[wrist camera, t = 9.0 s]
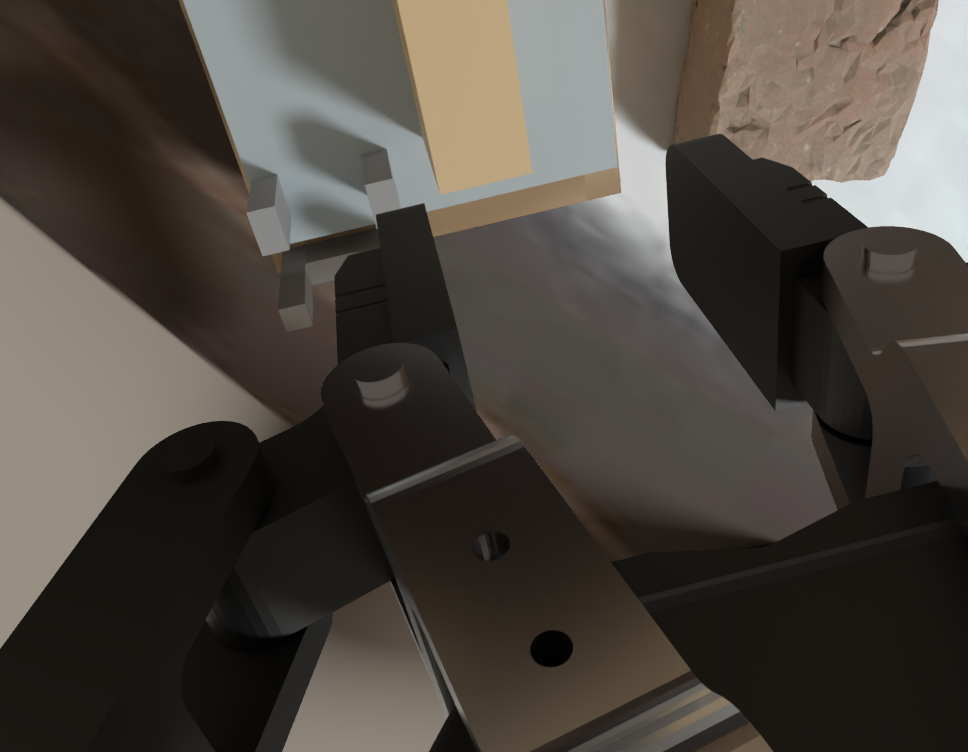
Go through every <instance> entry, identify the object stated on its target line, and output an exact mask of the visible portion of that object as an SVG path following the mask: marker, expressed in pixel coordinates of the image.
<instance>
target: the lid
mask: <svg viewBox="0 0 968 752" xmlns="http://www.w3.org/2000/svg"><path fill="white" fill-rule="evenodd" d="M183 2H184V5H185V8H186V10H187V13H188V16H189V19H190V21H191V24H192V27H193V30H194V33H195V35H196V38H197V41H198V44H199V46H200V49H201V52H202V55H203V57H204V60H205V63H206V66H207V68H208V71H209V74H210V77H211V79H212V82H213V85H214V88H215V91H216V93H217V96H218V99H219V102H220V104H221V107H222V110H223V113H224V115H225V118H226V121H227V124H228V126H229V129H230V132H231V135H232V137H233V140H234V143H235V146H236V149H237V151H238V154H239V157H240V160H241V162H242V165H243V168H244V171H245V173H246V176H247V179H248V182H249V184H250V194H249V200H248V206H247V212H246V213H247V216H248V218H249V221H250V224H251V226H252V229H253V232H254V234H255V237H256V240H257V243H258V245H259V248H260V251H261V253H262V256H266V255H271V254H275V253H279V252H283V251H288V250H290V244H292V243H296V242H301V241H305V240H309V239H313V238H318V237H322V236H326V235H330V234H335V233H339V232H343V231H347V230H352V229H356V228H360V227H364V226H369V225H373V224H376V228H377V221H376V214H380V213H384V212H388V211H393V210H397V209H401V208H405V207H410V206H414V205H418V204H422V203H424V204H425V208H426V211H427V212H428V211H432V210H437V209H441V208H445V207H449V206H454V205H458V204H462V203H466V202H471V201H475V200H479V199H483V198H488V197H492V196H496V195H500V194H505V193H509V192H513V191H517V190H522V189H526V188H530V187H534V186H539V185H543V184H547V183H551V182H556V181H560V180H564V179H568V178H573V177H577V176H581V175H585V174H590V173H594V172H598V171H602V170H607V169H611V168H615V167H618V164H617V153H616V141H615V130H614V118H613V107H612V95H611V84H610V72H609V61H608V49H607V38H606V26H605V14H604V3H603V0H183ZM377 229H378V228H377Z"/></svg>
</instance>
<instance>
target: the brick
mask: <svg viewBox="0 0 968 752" xmlns="http://www.w3.org/2000/svg"><path fill="white" fill-rule="evenodd" d="M937 8H938V0H693V7H692V12H691V20H690V35H689V47H688V50H687V54H686V58H685V61H684V67H683V75H682V79H681V84H680V90H679V97H678V103H677V122H676V127H675V143H674V144H677V143H682V142H686V141H690V140H694V139H698V138H703V137H707V136H711V135H715V134H723V135H724V136H725V137H727V138H728V139H729V140H730V141H731V142H733V143H734V144H735V145H736V146H737V147H738V148H740V149H741V150H742V151H743V152H744V153H745V154H747V155H748V156H749V157H750V158H751V159H752V160H753V159H758V158H762V157H763V158H766V159H769V160H772V161H775V162H778V163H781V164H784V165H787V166H790V167H793V168H794V169H795V170H797V171H798V172H799V173H800V174H802V175H803V176H804V177H806V178H807V179H808V180H809V181H813V180H823V179H825V180H833V181H837V182H846V181H851V180H872V179H875V178H877V177H880V176H883V175H885V173H886V171H887V169H888V167H889V165H890V161H891V160H892V158H893V157H894V156H895V152H896V149H897V145H898V142H899V139H900V137H901V134H902V132H903V130H904V127H905V125H906V122H907V119H908V116H909V113H910V110H911V108H912V105H913V102H914V100H915V96H916V92H917V89H918V86H919V83H920V79H921V76H922V73H923V69H924V65H925V61H926V58H927V52H928V44H929V36H930V30H931V28H932V26H933V23H934V20H935V17H936V15H937Z"/></svg>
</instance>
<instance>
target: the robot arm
mask: <svg viewBox="0 0 968 752" xmlns="http://www.w3.org/2000/svg"><path fill="white" fill-rule="evenodd" d="M666 181H667V200H668V218H669V237H670V249H671V255H672V260H673V264H674V267H675V270H676V273H677V276H678V278H679V280H680V282H681V283H682V285H683V286H684V288H685V289H686V290H687V292H688V293H689V295H690V296H691V297H692V299H693V300H694V301H695V303H696V304H697V305H698V307H699V308H700V309H701V311H702V312H703V314H704V315H705V316H706V318H707V319H708V320H709V322H710V323H711V324H712V326H713V327H714V328H715V330H716V331H717V333H718V334H719V335H720V337H721V338H722V339H723V341H724V342H725V343H726V345H727V346H728V347H729V349H730V350H731V352H732V353H733V354H734V356H735V357H736V358H737V360H738V361H739V362H740V364H741V365H742V366H743V368H744V369H745V371H746V372H747V373H748V375H749V376H750V377H751V379H752V380H753V381H754V383H755V384H756V385H757V387H758V388H759V390H760V391H761V392H762V394H763V395H764V396H765V398H766V399H767V400H768V402H769V403H770V404H771V406H772V407H773V409H774V410H775V411H778V410H782V409H786V408H790V407H794V406H798V405H802V404H806V403H809V405H810V406H811V407H812V408H813V419H812V434H811V437H812V442H813V445H814V447H815V450H816V453H817V456H818V458H819V461H820V464H821V466H822V469H823V472H824V475H825V477H826V480H827V483H828V485H829V488H830V491H831V494H832V496H833V499H834V502H835V504H836V507H837V510H838V511H836V512H834V513H832V514H830V515H828V516H826V517H824V518H822V519H820V520H818V521H817V522H815V523H813V524H811V525H809V526H807V527H805V528H803V529H801V530H799V531H797V532H795V533H793V534H791V535H789V536H787V537H786V538H784V539H782V540H780V541H778V542H776V543H774V544H771V545H769V546H765V547H761V548H752V549H729V550H706V551H684V552H661V553H647V554H643V555H639V556H635V557H631V558H627V559H623V560H619V561H615V562H610V560H609V559H608V558H607V556H606V555H605V554H604V552H603V551H602V549H601V548H600V547H599V545H598V544H597V543H596V541H595V540H594V539H593V537H592V536H591V535H590V533H589V532H588V531H587V529H586V528H585V527H584V525H583V524H582V523H581V521H580V520H579V518H578V517H577V516H576V514H575V513H574V512H573V510H572V509H571V508H570V506H569V505H568V504H567V502H566V501H565V500H564V498H563V497H562V496H561V494H560V493H559V492H558V490H557V489H556V487H555V486H554V485H553V483H552V482H551V481H550V479H549V478H548V477H547V475H546V474H545V473H544V471H543V470H542V469H541V467H540V466H539V465H538V463H537V462H536V461H535V459H534V458H533V456H532V455H531V454H530V452H529V451H528V450H527V448H526V447H525V446H524V445H523V443H522V442H521V441H520V440H519V439H518V438H517V437H516V436H514V435H511V434H510V435H508V436H505V437H503V438H501V439H498V440H496V439H495V437H494V436H493V434H492V433H491V432H490V430H489V429H488V427H487V426H486V424H485V423H484V422H483V420H482V419H481V417H480V416H479V414H478V413H477V411H476V407H475V402H474V398H473V394H472V390H471V385H470V381H469V377H468V373H467V368H466V364H465V360H464V356H463V351H462V347H461V343H460V339H459V334H458V330H457V326H456V322H455V318H454V315H453V311H452V307H451V303H450V299H449V296H448V292H447V288H446V284H445V280H444V276H443V273H442V269H441V265H440V261H439V257H438V254H437V250H436V246H435V242H434V238H433V234H432V231H431V227H430V223H429V219H428V215H427V211H426V208H425V204H424V203H422V204H418V205H414V206H410V207H405V208H401V209H397V210H393V211H388V212H384V213H380V214H376V221H377V228H378V235H379V242H380V248H378V249H373V250H369V251H365V252H361V253H357V254H352V255H348V256H347V258H346V259H345V261H344V262H343V264H342V265H341V267H340V268H339V270H338V271H337V273H336V274H335V276H334V278H335V297H336V300H335V304H336V314H337V316H336V329H337V354H338V365H337V366H336V367H334V368H333V369H332V370H331V371H330V373H329V374H328V375H327V376H326V378H325V380H324V381H323V384H322V387H321V399H322V403H323V406H322V407H321V408H320V409H319V410H318V411H317V412H316V413H314V414H313V415H312V416H311V417H309V418H308V419H306V420H304V421H303V422H301V423H300V424H298V425H296V426H294V427H292V428H290V429H288V430H286V431H284V432H282V433H280V434H277V435H275V436H273V437H271V438H269V439H267V440H265V441H262V442H260V443H259V442H258V440H257V437H256V435H255V434H254V433H253V431H252V430H250V429H249V428H248V427H247V426H244V425H242V424H240V423H235V422H231V421H230V422H229V421H216V422H207V423H202V424H198V425H195V426H191V427H189V428H186V429H183V430H181V431H179V432H176V433H174V434H172V435H170V436H169V437H167V438H165V439H164V440H162V441H160V442H159V443H158V444H156V445H155V446H154V447H152V448H151V449H150V450H149V451H148V452H147V453H146V454H145V455H143V456H142V458H141V459H140V460H139V461H138V462H137V464H136V465H135V466H134V467H133V469H132V470H131V472H130V473H129V474H128V476H127V477H126V478H125V480H124V481H123V482H122V484H121V485H120V487H119V488H118V489H117V491H116V492H115V494H114V495H113V496H112V498H111V499H110V500H109V502H108V503H107V504H106V506H105V507H104V508H103V510H102V511H101V513H100V514H99V515H98V517H97V518H96V519H95V521H94V522H93V523H92V525H91V526H90V528H89V529H88V530H87V532H86V533H85V534H84V536H83V537H82V538H81V540H80V541H79V542H78V544H77V545H76V546H75V548H74V549H73V551H72V552H71V553H70V555H69V556H68V557H67V559H66V560H65V562H64V563H63V564H62V566H61V567H60V568H59V570H58V571H57V572H56V574H55V575H54V576H53V578H52V579H51V581H50V582H49V583H48V585H47V586H46V587H45V589H44V590H43V591H42V593H41V594H40V596H39V597H38V598H37V600H36V601H35V603H34V604H33V605H32V606H31V608H30V609H29V611H28V612H27V613H26V615H25V616H24V617H23V619H22V620H21V621H20V623H19V624H18V626H17V627H16V628H15V630H14V631H13V632H12V634H11V635H10V636H9V638H8V639H7V641H6V642H5V643H4V645H3V646H2V647H1V649H0V752H282V750H283V748H284V745H285V743H286V740H287V737H288V735H289V733H290V730H291V728H292V725H293V722H294V720H295V717H296V715H297V712H298V710H299V707H300V705H301V702H302V700H303V697H304V694H305V692H306V689H307V687H308V684H309V682H310V679H311V677H312V674H313V672H314V669H315V667H316V664H317V661H318V659H319V656H320V654H321V651H322V649H323V646H324V644H325V641H326V639H327V636H328V634H329V631H330V627H331V624H332V616H333V615H332V612H334V611H336V610H337V609H339V608H341V607H343V606H345V605H346V604H348V603H350V602H352V601H353V600H355V599H357V598H359V597H361V596H363V595H365V594H367V593H368V592H370V591H372V590H374V589H376V588H377V587H379V586H381V585H383V584H385V583H387V582H388V581H390V584H391V586H392V588H393V591H394V593H395V595H396V598H397V600H398V602H399V605H400V607H401V609H402V612H403V614H404V616H405V619H406V621H407V624H408V626H409V628H410V631H411V633H412V636H413V638H414V640H415V642H416V645H417V647H418V649H419V652H420V654H421V657H422V659H423V661H424V664H425V666H426V669H427V671H428V673H429V676H430V678H431V681H432V683H433V685H434V688H435V690H436V693H437V695H438V698H439V700H440V703H441V706H442V708H443V711H444V713H445V716H446V718H447V719H446V721H445V723H444V725H443V727H442V729H441V731H440V732H439V734H438V736H437V738H436V740H435V741H434V743H433V745H432V747H431V749H430V751H429V752H968V263H965V261H964V260H963V259H962V258H961V256H960V255H959V254H958V252H957V251H956V250H955V249H954V247H953V246H952V245H951V244H950V243H948V242H947V241H945V240H944V239H942V238H940V237H938V236H936V235H934V234H931V233H928V232H925V231H921V230H917V229H912V228H906V227H894V226H881V227H870V228H868V227H867V226H866V225H864V224H863V223H862V222H861V221H859V220H858V219H857V218H856V217H854V216H853V215H852V214H851V213H849V212H848V211H847V210H846V209H844V208H843V207H842V206H841V205H839V204H838V203H837V202H836V201H834V200H833V199H832V198H827V194H826V193H824V192H823V191H822V190H821V189H819V188H818V187H817V186H816V185H814V186H812V183H811V181H809V180H808V179H807V178H806V177H804V176H803V175H802V174H800V173H799V172H798V171H797V170H795V169H794V168H793V167H790V166H787V165H784V164H781V163H778V162H775V161H772V160H769V159H766V158H763V157H762V158H758V159H753V160H752V159H751V158H750V157H749V156H748V155H747V154H745V153H744V152H743V151H742V150H741V149H740V148H738V147H737V146H736V145H735V144H734V143H733V142H731V141H730V140H729V139H728V138H727V137H725V136H724V135H723V134H715V135H711V136H707V137H703V138H698V139H694V140H690V141H686V142H682V143H677V144H673V145H670V146H669V147H668V150H667V153H666Z"/></svg>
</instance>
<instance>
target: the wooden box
mask: <svg viewBox="0 0 968 752" xmlns="http://www.w3.org/2000/svg"><path fill="white" fill-rule="evenodd" d="M179 3H180V6H181V8H182V11H183V14H184V17H185V19H186V22H187V25H188V28H189V30H190V33H191V36H192V39H193V41H194V44H195V47H196V49H197V52H198V55H199V58H200V60H201V63H202V66H203V69H204V71H205V74H206V77H207V80H208V82H209V85H210V88H211V91H212V93H213V96H214V99H215V102H216V104H217V107H218V110H219V113H220V115H221V118H222V121H223V123H224V126H225V129H226V132H227V134H228V137H229V140H230V143H231V145H232V148H233V151H234V154H235V156H236V159H237V162H238V165H239V167H240V170H241V173H242V176H243V178H244V181H245V184H246V187H247V189H248V192H249V194H250V184H249V182H248V179H247V176H246V173H245V171H244V168H243V165H242V162H241V160H240V157H239V154H238V151H237V149H236V146H235V143H234V140H233V137H232V135H231V132H230V129H229V126H228V124H227V121H226V118H225V115H224V113H223V110H222V107H221V104H220V102H219V99H218V96H217V93H216V91H215V88H214V85H213V82H212V79H211V77H210V74H209V71H208V68H207V66H206V63H205V60H204V57H203V55H202V52H201V49H200V46H199V44H198V41H197V38H196V35H195V33H194V30H193V27H192V24H191V21H190V19H189V16H188V13H187V10H186V8H185V5H184V2H183V0H179ZM603 3H604V14H605V26H606V38H607V49H608V61H609V72H610V84H611V95H612V107H613V118H614V130H615V141H616V153H617V164H618V167H615V168H611V169H607V170H602V171H598V172H594V173H590V174H585V175H581V176H577V177H573V178H568V179H564V180H560V181H556V182H551V183H547V184H543V185H539V186H534V187H530V188H526V189H522V190H517V191H513V192H509V193H505V194H500V195H496V196H492V197H488V198H483V199H479V200H475V201H471V202H466V203H462V204H458V205H454V206H449V207H445V208H441V209H437V210H432V211H428V212H427V215H428V219H429V223H430V227H431V231H432V234H433V237H435V236H440V235H444V234H448V233H452V232H456V231H461V230H465V229H469V228H473V227H478V226H482V225H486V224H490V223H495V222H499V221H503V220H507V219H512V218H516V217H520V216H524V215H528V214H533V213H537V212H541V211H545V210H550V209H554V208H558V207H562V206H567V205H571V204H575V203H579V202H583V201H588V200H592V199H596V198H600V197H605V196H609V195H613V194H617V193H621V186H620V174H619V163H618V151H617V140H616V128H615V116H614V105H613V93H612V81H611V70H610V58H609V46H608V35H607V23H606V11H605V0H603ZM378 248H380V242H379V235H378V229H377V228H376V224H373V225H369V226H364V227H360V228H356V229H352V230H347V231H343V232H339V233H335V234H330V235H326V236H322V237H318V238H313V239H309V240H305V241H301V242H296V243H292V244H290V250H288V251H283V252H279V253H275V254H271V255H272V258H273V261H274V263H275V266H276V269H277V271H278V274H279V273H281V278H280V292H279V306H278V311H279V313H280V316H281V319H282V321H283V324H284V327H285V329H286V332H290V331H294V330H299V329H303V328H307V327H311V326H313V285H315V284H319V283H324V282H328V281H332V280H335V278H334V276H335V274H336V273H337V271H338V270H339V268H340V267H341V265H342V264H343V262H344V261H345V259H346V258H347V256H348V255H352V254H357V253H361V252H365V251H369V250H373V249H378Z"/></svg>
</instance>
